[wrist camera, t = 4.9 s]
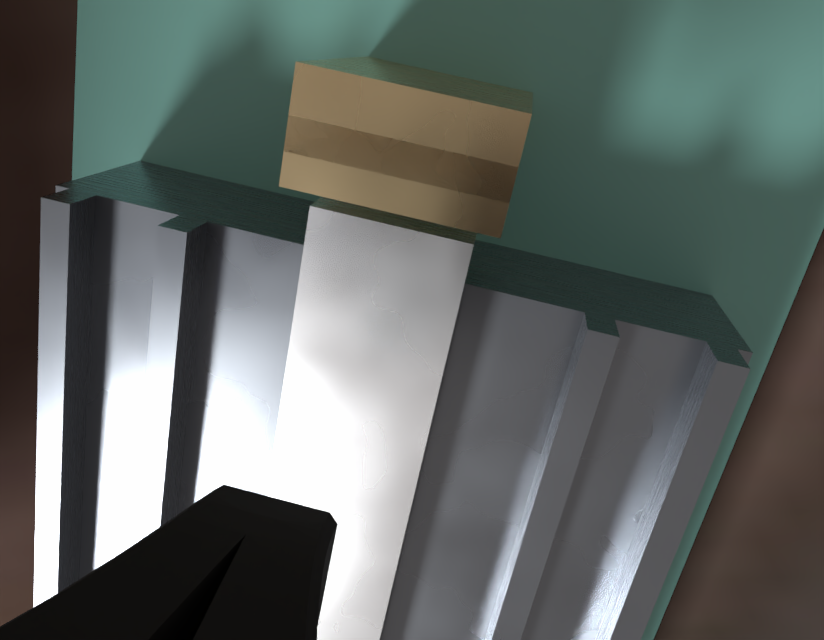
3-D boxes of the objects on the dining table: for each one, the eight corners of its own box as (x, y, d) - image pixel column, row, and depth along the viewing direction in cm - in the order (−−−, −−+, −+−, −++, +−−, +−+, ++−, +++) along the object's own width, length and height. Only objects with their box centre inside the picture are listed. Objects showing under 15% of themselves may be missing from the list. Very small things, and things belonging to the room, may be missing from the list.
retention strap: (334, 832, 17) (324, 868, 16) (229, 801, 17) (215, 836, 17) (477, 230, 12) (473, 244, 11) (323, 195, 12) (310, 205, 11)
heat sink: (107, 652, 21) (-6, 813, 16) (150, 8, 15) (-13, -8, 10) (535, 773, 20) (535, 978, 16) (768, 144, 14) (875, 190, 9)
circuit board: (64, 741, 23) (52, 758, 23) (100, -145, 14) (83, -153, 14) (543, 883, 22) (543, 904, 22) (895, 18, 13) (910, 17, 13)
